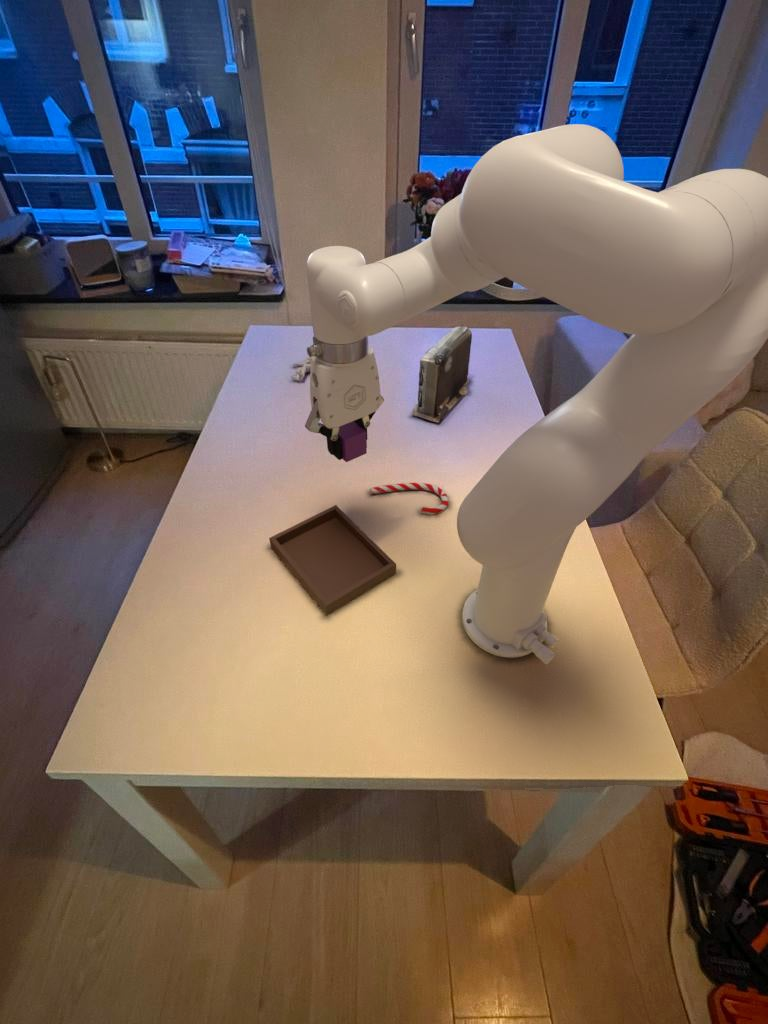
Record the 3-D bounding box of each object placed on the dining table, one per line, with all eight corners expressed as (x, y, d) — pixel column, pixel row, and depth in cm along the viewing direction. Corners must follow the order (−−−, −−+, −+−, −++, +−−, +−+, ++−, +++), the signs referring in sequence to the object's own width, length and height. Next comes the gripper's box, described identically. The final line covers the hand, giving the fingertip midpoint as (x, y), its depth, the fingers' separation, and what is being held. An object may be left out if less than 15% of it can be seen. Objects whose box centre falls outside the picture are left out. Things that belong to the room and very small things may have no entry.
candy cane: (372, 476, 102) (450, 484, 101) (372, 481, 103) (449, 489, 102) (366, 504, 97) (447, 512, 95) (366, 509, 98) (447, 517, 96)
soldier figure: (284, 382, 132) (295, 347, 137) (300, 393, 134) (310, 358, 140) (301, 368, 126) (311, 332, 132) (317, 379, 129) (327, 343, 134)
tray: (396, 573, 86) (396, 564, 85) (326, 615, 81) (325, 606, 79) (336, 514, 96) (335, 504, 95) (271, 547, 91) (268, 537, 89)
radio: (452, 372, 134) (458, 314, 124) (483, 381, 131) (492, 323, 120) (404, 414, 120) (406, 354, 110) (436, 426, 117) (442, 365, 106)
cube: (366, 453, 86) (366, 431, 83) (346, 462, 84) (344, 440, 81) (349, 438, 89) (348, 416, 86) (329, 447, 87) (327, 425, 84)
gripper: (302, 373, 68) (316, 481, 80) (405, 338, 75) (402, 443, 88) (275, 351, 72) (292, 457, 85) (374, 320, 79) (376, 422, 92)
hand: (348, 449), depth 86 cm, fingers closed on cube, 4 cm apart
